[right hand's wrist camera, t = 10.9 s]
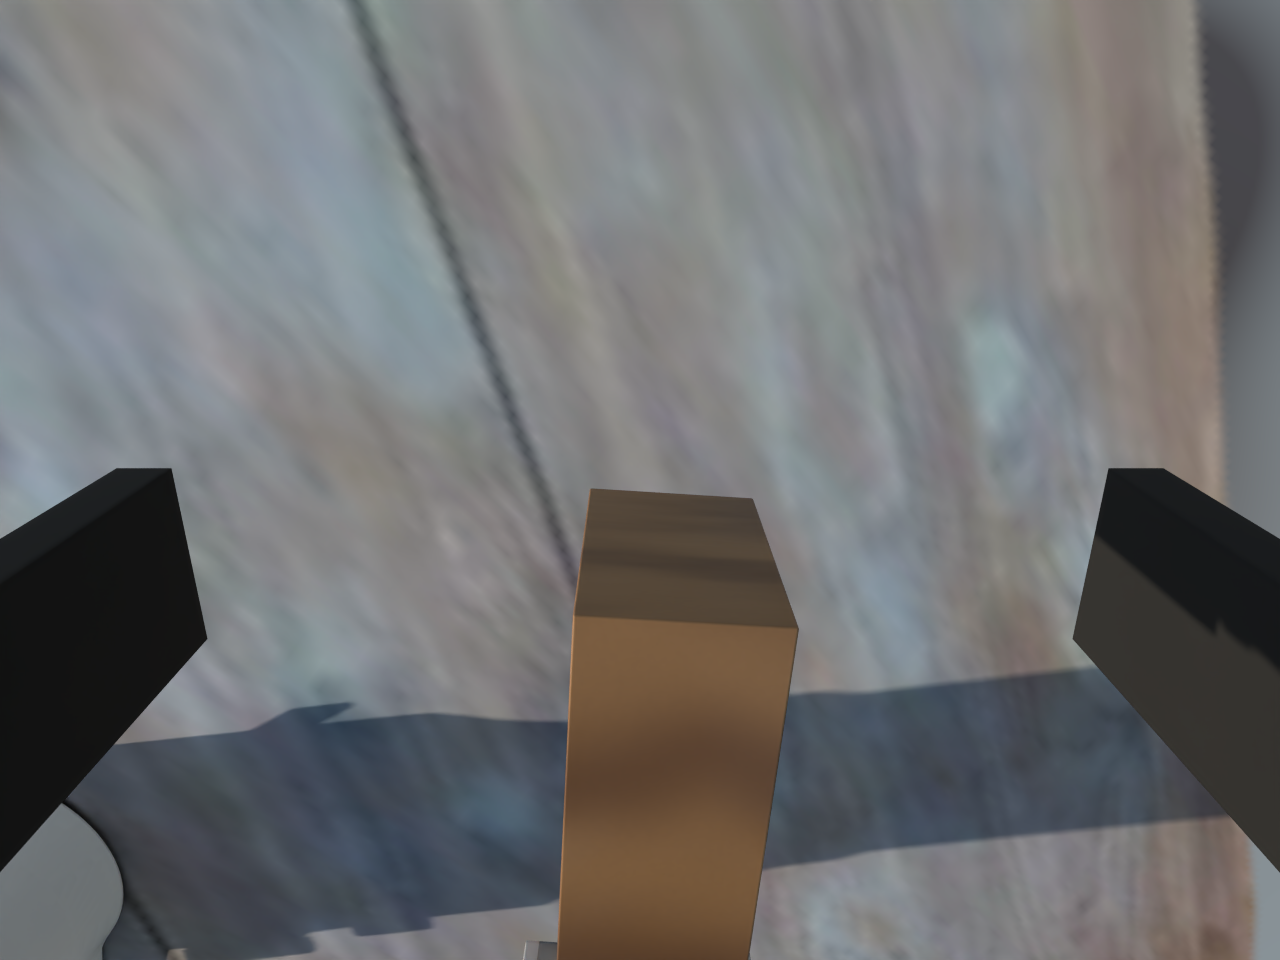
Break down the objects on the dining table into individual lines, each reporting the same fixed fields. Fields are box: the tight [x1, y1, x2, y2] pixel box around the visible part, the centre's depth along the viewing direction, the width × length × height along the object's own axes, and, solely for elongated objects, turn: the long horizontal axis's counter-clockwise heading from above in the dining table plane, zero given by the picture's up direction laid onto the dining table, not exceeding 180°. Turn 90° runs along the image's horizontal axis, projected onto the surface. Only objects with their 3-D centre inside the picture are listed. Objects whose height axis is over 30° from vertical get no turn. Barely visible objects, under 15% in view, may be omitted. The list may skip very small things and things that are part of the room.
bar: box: [557, 489, 799, 960], centre depth 28 cm, size 22×6×8 cm, turn 176°
